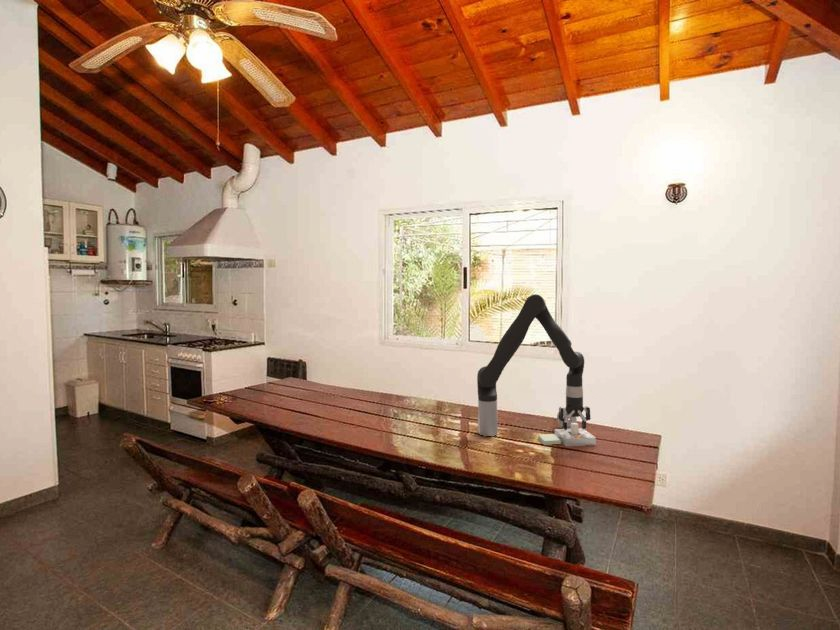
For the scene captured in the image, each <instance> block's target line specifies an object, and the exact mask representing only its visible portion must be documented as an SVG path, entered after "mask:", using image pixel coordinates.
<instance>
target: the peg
mask: <svg viewBox="0 0 840 630" xmlns="http://www.w3.org/2000/svg"><path fill="white" fill-rule="evenodd" d="M578 428H579V423H578V422H576V423H571V428H570V429H571V435H578Z"/></svg>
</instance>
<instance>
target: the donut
mask: <svg viewBox="0 0 840 630" xmlns="http://www.w3.org/2000/svg"><path fill="white" fill-rule="evenodd" d="M566 413H567V412H566V410H565V411H564V413H563V418H564V416H565V414H566ZM556 420H557V423H558V425H560V426H561V427H562V428H563V421H560V420H559V411H558V412H557V415H556ZM577 421H578V420H577V417H570V418H569V420H568V421H567V429H571V423H577Z"/></svg>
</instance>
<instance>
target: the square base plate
mask: <svg viewBox="0 0 840 630" xmlns="http://www.w3.org/2000/svg"><path fill="white" fill-rule="evenodd" d="M537 438H538V440H539V441H540V442H541V443H542V445H544V446H550V445H549V444H561V445H562V443H561V440H560V439H559V438H558V437H557V436H556V435H555V433H545V434H543V433H542V434H538V436H537ZM546 444H547V445H546Z"/></svg>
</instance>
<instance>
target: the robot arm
mask: <svg viewBox="0 0 840 630" xmlns="http://www.w3.org/2000/svg"><path fill="white" fill-rule="evenodd" d="M535 319H536V320H537V321H538V322H539V324H540V325H541V326H542V328H543V329H544V331H545V332H546V334H547V335H548V337H549V340H550V341H551V342H552V343H553V346H555V348H556V349H557V351H558V353H559V355H560V358H561V360H562V362H563V363H564V365H565V366H566V367H568V372H567V373H566V378H565V379H566V382H565V383H566V386H565V407H561V406H560V407H558V412H559V420H560V421H563V427H562V429H565V430H567V422H568V421H569V420H570V417H576V418H579V417H580V419H581V428H582V429H585V430H586V428H587V422H588V421H590V420H591V408H590V407H589V406H584V388H583V374H584V368H585V357H584V354H582V353H581V352H579V351H574V349H573V347H572V342H571V340H570V338H569V337H568V335H567V334H566V332H565V331H564V330H563V329H562V328H561V326H559V324H558V323H557V322H556V320H555V319H554V318H553V316H552V314H551V313H550V311H549V309H548V307H547V303H546V301H545V299H544V298H543V296H541V295H540V294H537V293H536V294H531V295H530V296H528V297H527V298H526V300H525V302H524V304H523V306H522V307H521V309H520V311H519V312H518V315H517V316H516V318H515V319H514V320H513V321H512V323H511V324H510V326H509V327H508V328H507V330H506V331H505V333H504V334H503V336H502V337H501V339H500V340H499V343H498V344H497V347H496V349H495V352H494V354H493V356H492V358H491V360H490V361H489V363H488V364H487V365H486V366H482V367H481V368H480V369H478V371H477V378H476V380H477V383H476V384H477V396H478V399H477V401H478V405H477V407H478V409H477V410H478V411H477V412H478V413H477V433H478V435H479V434H480V435H483V436H482V437H486V436H491V437H496V436H497V435H498V434H497V433H498V392H497V382H498V381H499V378H500V377H501V375H502V373H503V371H504V369H505V367H506V366H507V365H508V363H509V362H510V361H511V360H512V358H513V356H514V355H515V354H516V353H517V351H518V350H519V348H520V347H521V345H522V343H523V342H524V340H525V337H526V336H527V333H528V331H529V329H530V326H531V324H532V323H533V321H534V320H535ZM565 410H566V412H567V413H566V414H565V416H564V418H563V413H564V411H565ZM583 412H585V415H584V414H583ZM480 435H479V436H480ZM495 435H496V436H495Z"/></svg>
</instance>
